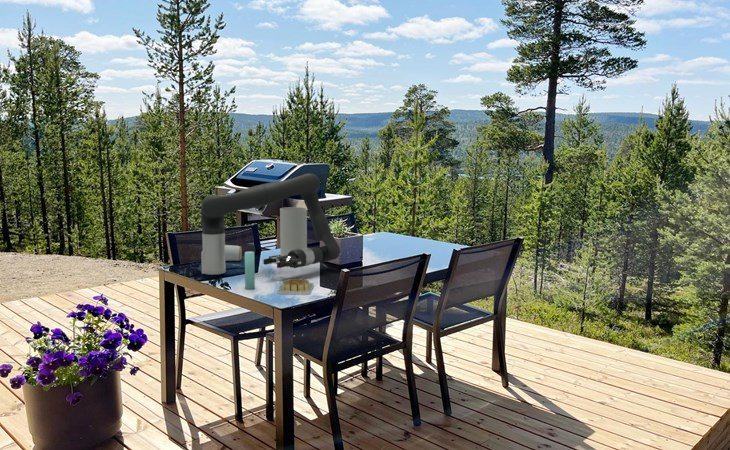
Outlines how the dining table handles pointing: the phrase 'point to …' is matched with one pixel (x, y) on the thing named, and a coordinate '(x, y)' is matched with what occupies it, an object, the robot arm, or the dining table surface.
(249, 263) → the pin
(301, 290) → the golden segmented cake
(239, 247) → the ceramic mug
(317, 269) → the dining table surface
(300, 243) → the cylinder vase
